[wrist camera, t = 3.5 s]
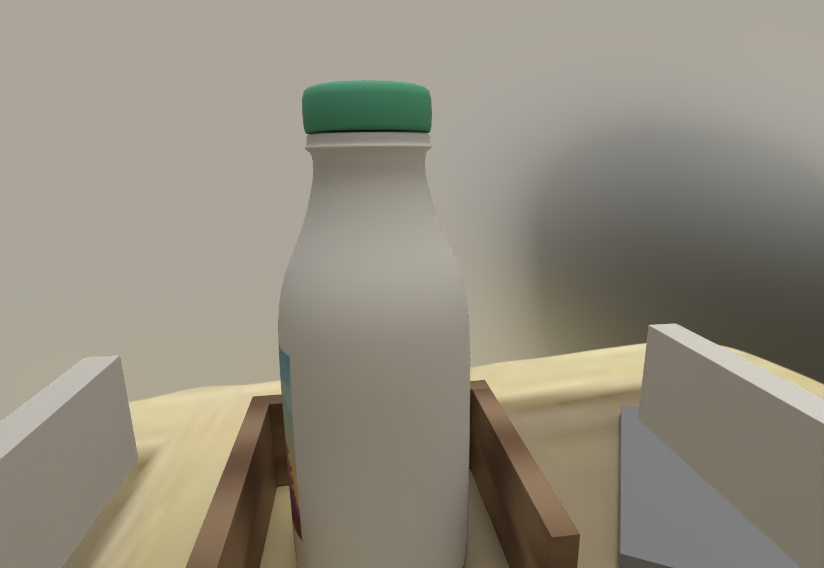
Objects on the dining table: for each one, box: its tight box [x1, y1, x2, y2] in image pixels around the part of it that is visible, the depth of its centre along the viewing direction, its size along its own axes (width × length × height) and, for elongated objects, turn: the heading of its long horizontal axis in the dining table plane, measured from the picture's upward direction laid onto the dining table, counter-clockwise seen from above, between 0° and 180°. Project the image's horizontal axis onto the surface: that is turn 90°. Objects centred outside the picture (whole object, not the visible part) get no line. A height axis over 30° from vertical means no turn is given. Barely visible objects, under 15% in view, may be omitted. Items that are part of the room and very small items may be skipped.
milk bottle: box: [278, 80, 470, 568], centre depth 20 cm, size 8×8×20 cm
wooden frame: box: [186, 380, 580, 568], centre depth 22 cm, size 12×13×5 cm
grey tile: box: [619, 405, 801, 568], centre depth 25 cm, size 14×14×1 cm
